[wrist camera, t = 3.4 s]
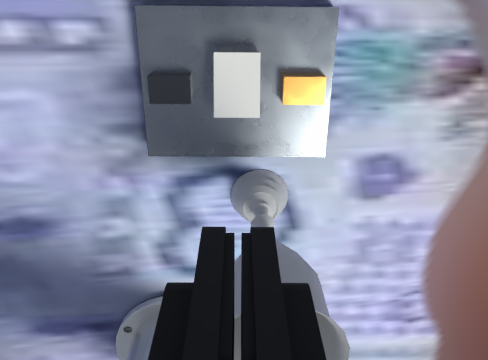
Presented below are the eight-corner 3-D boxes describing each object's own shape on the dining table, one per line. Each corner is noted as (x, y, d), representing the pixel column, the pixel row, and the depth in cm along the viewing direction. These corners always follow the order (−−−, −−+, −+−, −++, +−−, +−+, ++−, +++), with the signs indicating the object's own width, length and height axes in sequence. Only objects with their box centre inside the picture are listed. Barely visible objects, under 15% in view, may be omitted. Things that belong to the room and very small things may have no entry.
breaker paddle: (258, 117, 31) (259, 117, 30) (215, 117, 31) (213, 117, 29) (259, 55, 30) (260, 52, 29) (214, 54, 30) (213, 52, 29)
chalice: (278, 144, 35) (313, 282, 19) (313, 207, 38) (371, 376, 21) (203, 184, 37) (176, 343, 20) (242, 241, 39) (245, 425, 23)
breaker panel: (320, 148, 35) (327, 162, 32) (152, 147, 35) (145, 161, 32) (333, 6, 31) (343, 8, 28) (140, 4, 31) (130, 6, 28)
